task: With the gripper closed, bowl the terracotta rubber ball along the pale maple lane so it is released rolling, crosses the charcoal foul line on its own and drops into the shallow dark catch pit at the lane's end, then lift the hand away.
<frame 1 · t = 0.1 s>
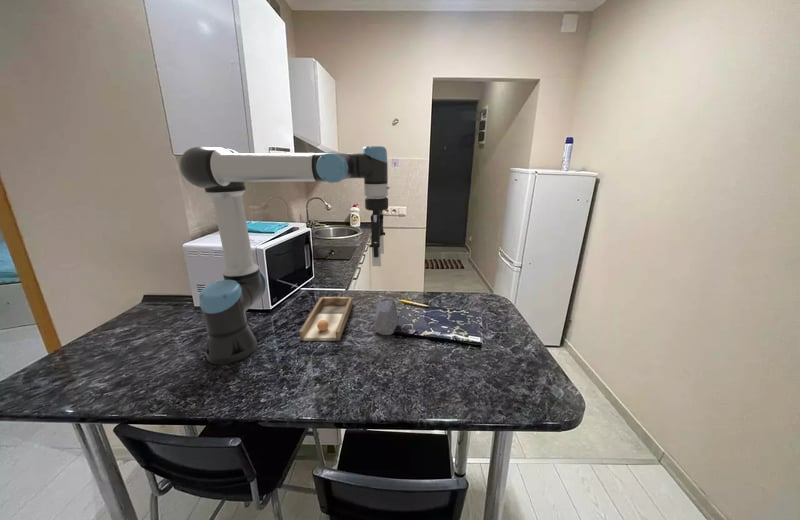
hand: (378, 259, 105), 28 cm above the table, fingers open, 13 cm apart
stone: (385, 330, 114), on the table
ball: (322, 325, 112), point 3 cm above the table, touching lane
lane: (329, 320, 121), on the table
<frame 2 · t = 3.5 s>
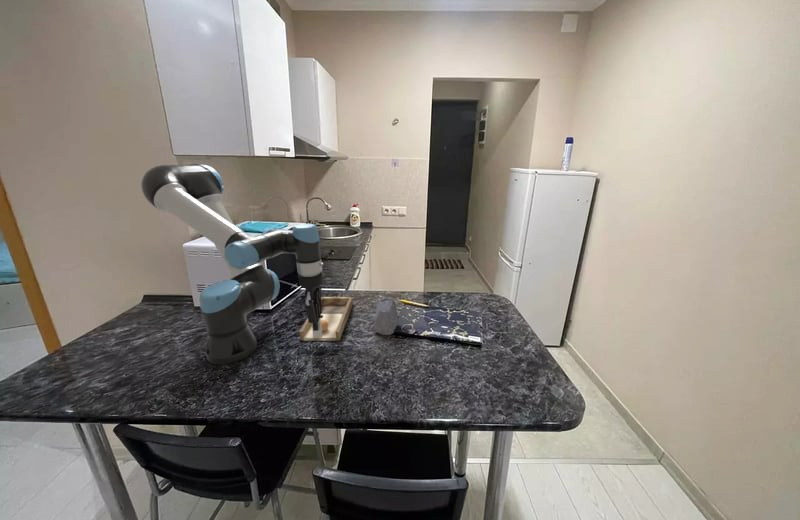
hand: (317, 336, 105), 3 cm above the table, fingers closed
nothing on the table moved.
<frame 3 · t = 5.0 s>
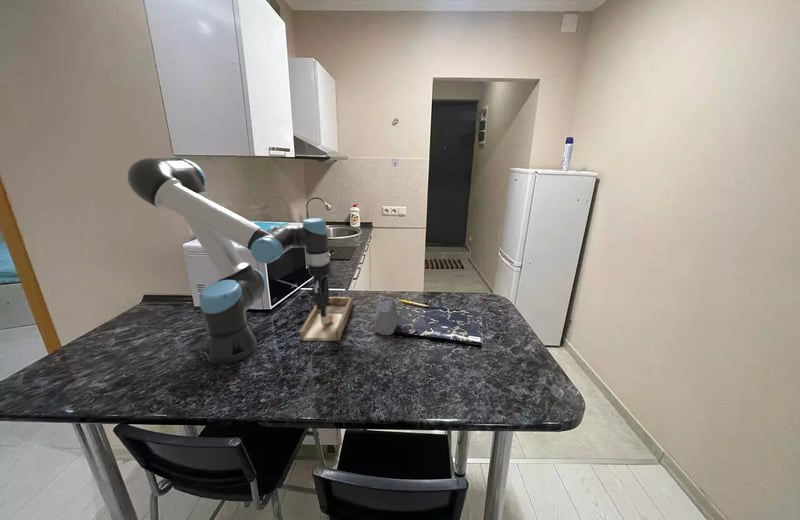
hand: (325, 322, 114), 3 cm above the table, fingers closed
ball: (327, 318, 117), point 3 cm above the table, tilted 150°, touching lane
everything else where it was.
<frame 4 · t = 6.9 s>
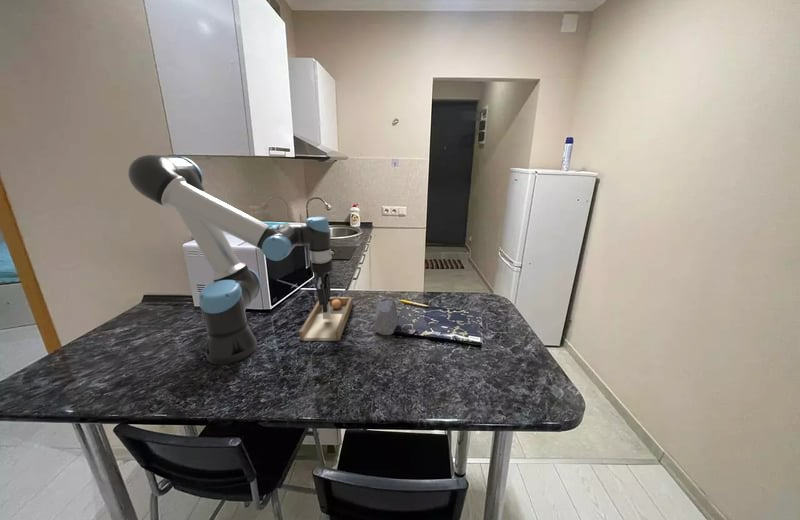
hand: (326, 318, 117), 3 cm above the table, fingers closed
ball: (336, 303, 130), point 2 cm above the table, tilted 164°, touching lane
everything else where it was.
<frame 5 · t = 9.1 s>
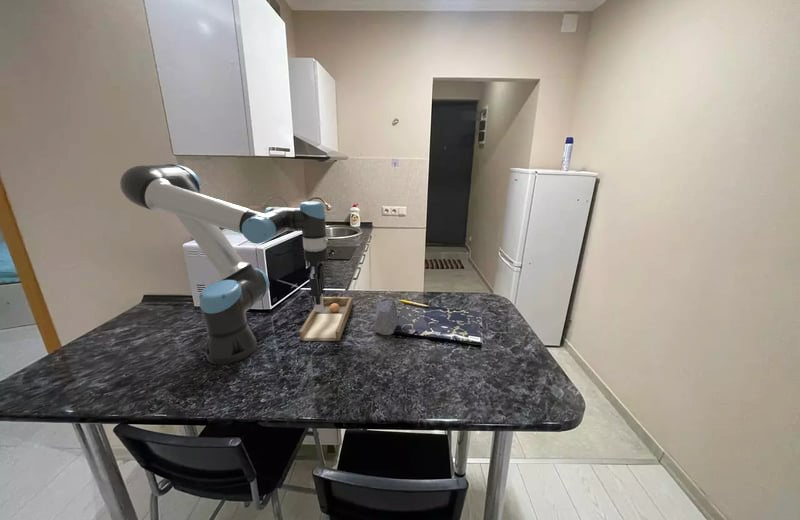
hand: (319, 310, 110), 9 cm above the table, fingers closed
ball: (334, 308, 126), point 2 cm above the table, tilted 87°, touching lane
everything else where it was.
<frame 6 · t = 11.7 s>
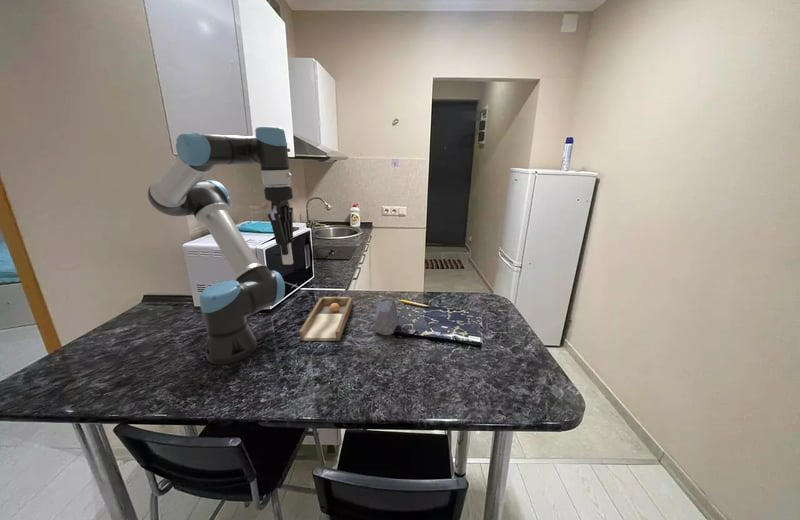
hand: (288, 263, 94), 30 cm above the table, fingers closed
ball: (334, 307, 126), point 2 cm above the table, tilted 95°, touching lane
everything else where it was.
at the end: ball inside the target area on the lane (3.4 cm from its centre), point 2.3 cm above the lane's base; ball moved 15.5 cm from its start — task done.
